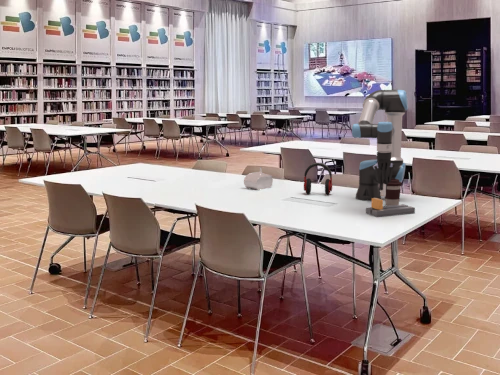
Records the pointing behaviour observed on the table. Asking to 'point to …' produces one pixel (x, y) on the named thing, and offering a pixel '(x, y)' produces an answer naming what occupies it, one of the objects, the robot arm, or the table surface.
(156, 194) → the table surface
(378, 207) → the fader tab
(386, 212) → the slider console
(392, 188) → the coffee cup
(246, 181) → the vr headset
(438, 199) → the table surface
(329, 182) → the headphones
